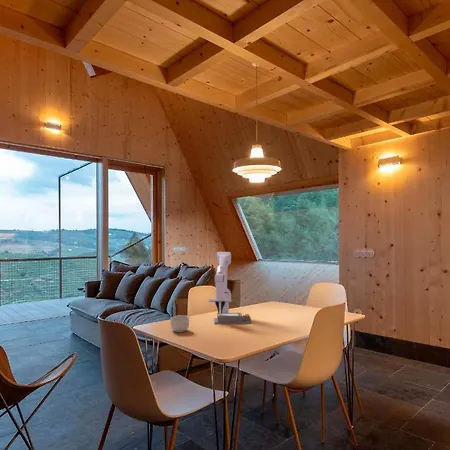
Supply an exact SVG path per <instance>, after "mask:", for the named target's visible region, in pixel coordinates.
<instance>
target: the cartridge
mask: <svg viewBox="0 0 450 450" xmlns="http://www.w3.org/2000/svg"><path fill="white" fill-rule="evenodd" d="M236 315H238V314H221V308H219V314H218V316H236Z"/></svg>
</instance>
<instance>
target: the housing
mask: <svg viewBox="0 0 450 450" xmlns="http://www.w3.org/2000/svg"><path fill="white" fill-rule="evenodd" d="M216 314H217V317H215V318H213V321H214V325H241V324H242V325H244V324H245V325H248V324H249V325H252V321H251V319H252V317H251V316H250V315H249V317H243V313H242V312H229V313H222V314H238V315H236V316H218V312H217V313H216Z"/></svg>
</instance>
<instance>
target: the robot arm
mask: <svg viewBox="0 0 450 450" xmlns="http://www.w3.org/2000/svg"><path fill="white" fill-rule="evenodd" d="M216 260H217V261H216V262H217V264H218V266H217V268H216V274H215V275H214V285H215V298H208V303H214V304H215V306H216V308H217V313H218V314H219V308H221V314H222V313H230V312H229V309H230V308H229V305H230V303H232V295H231V294H232V293H231V290H230V289H229V288H228V267H229V265H231V263H232V253H231V252H230V251H216Z"/></svg>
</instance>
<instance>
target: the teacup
mask: <svg viewBox="0 0 450 450" xmlns="http://www.w3.org/2000/svg"><path fill="white" fill-rule="evenodd" d="M169 321H170V327H171V330H172V331H174V332H175V333H183V332H185V331H187V330H188V328H189V326H190V316H188V315H180V314H178V315H174V316H172V317H170V320H169Z"/></svg>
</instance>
